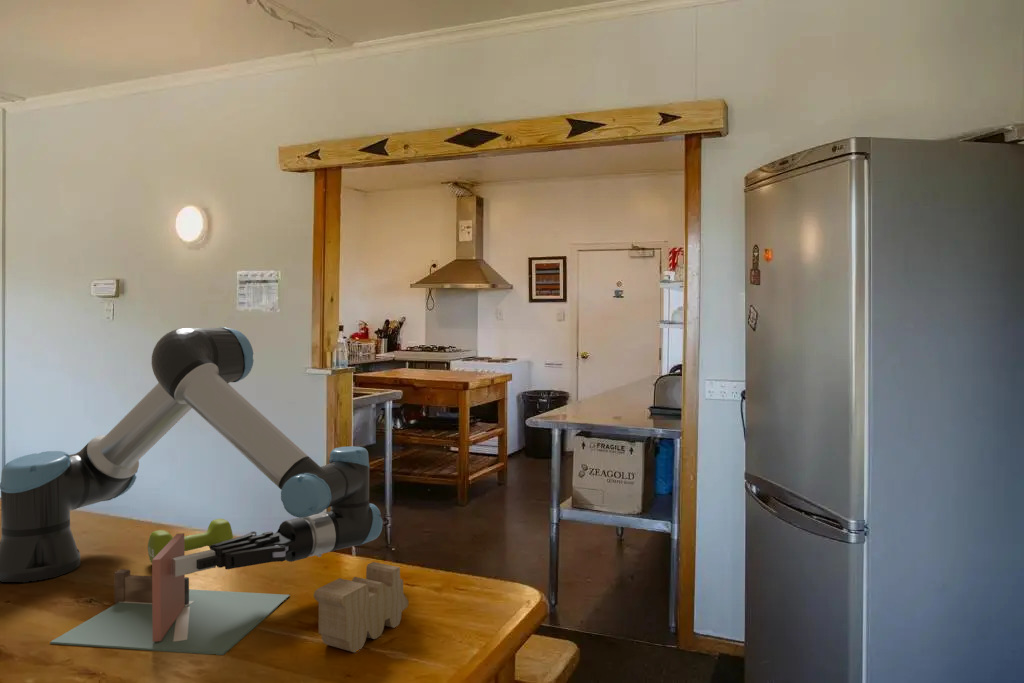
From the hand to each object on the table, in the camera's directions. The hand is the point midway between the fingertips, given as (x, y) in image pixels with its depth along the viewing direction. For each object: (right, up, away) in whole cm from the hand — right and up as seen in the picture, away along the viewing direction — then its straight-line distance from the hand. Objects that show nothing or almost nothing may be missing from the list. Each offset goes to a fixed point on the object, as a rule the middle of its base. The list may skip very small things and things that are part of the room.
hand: (173, 567), depth 116 cm
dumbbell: (-14, -10, +36) cm, 40 cm away
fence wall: (-9, -10, +12) cm, 18 cm away
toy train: (+31, -11, -1) cm, 33 cm away
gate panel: (-2, -10, +2) cm, 10 cm away
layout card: (-2, -10, +5) cm, 12 cm away
